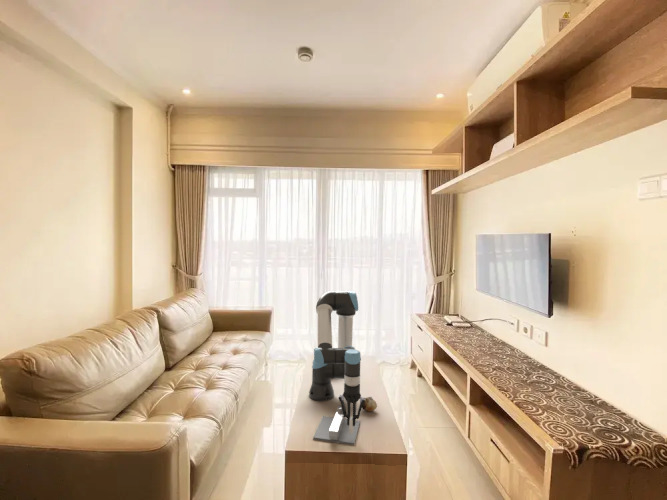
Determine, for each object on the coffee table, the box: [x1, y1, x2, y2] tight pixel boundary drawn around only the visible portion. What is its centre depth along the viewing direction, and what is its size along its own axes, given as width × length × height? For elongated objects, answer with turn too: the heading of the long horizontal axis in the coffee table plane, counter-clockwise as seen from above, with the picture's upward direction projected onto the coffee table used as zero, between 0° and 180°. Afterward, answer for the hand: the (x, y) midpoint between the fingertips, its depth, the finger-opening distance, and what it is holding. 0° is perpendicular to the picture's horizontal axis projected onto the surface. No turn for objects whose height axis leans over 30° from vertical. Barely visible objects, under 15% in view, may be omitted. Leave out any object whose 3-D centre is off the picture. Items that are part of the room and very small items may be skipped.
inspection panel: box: [312, 415, 361, 446], centre depth 171 cm, size 20×20×1 cm
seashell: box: [361, 396, 378, 412], centre depth 191 cm, size 10×6×8 cm, turn 87°
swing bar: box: [329, 405, 346, 440], centre depth 170 cm, size 21×4×6 cm, turn 168°
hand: (351, 431), depth 163 cm, fingers closed
